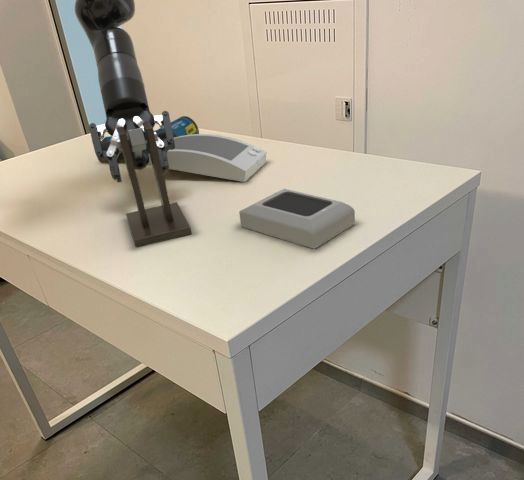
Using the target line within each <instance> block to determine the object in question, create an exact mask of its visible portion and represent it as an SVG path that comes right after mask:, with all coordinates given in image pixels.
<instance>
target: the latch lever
mask: <svg viewBox="0 0 524 480" xmlns="http://www.w3.org/2000/svg"><path fill="white" fill-rule="evenodd" d="M128 138H129V141H130V145H131V150H130V152H131V156H132V160H133V164H134V168H135V171H136V170H137V171H141V170H144V169H146V168H147V167H148V166H149V165H148V164H149V155H148V153H147V152H146V151H145V149H146V140H145V136H144V133H143V129H142V128H138V129H133V130H128Z"/></svg>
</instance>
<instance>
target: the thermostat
mask: <svg viewBox="0 0 524 480" xmlns="http://www.w3.org/2000/svg"><path fill="white" fill-rule="evenodd" d="M174 143H175V149H173V150H168V151H167V153H166V155H167V159H168V164H169V170H174V171H179V172H185V173H190V174H196V175H201V176H207V177H208V176H209V177H212V178H213V177H214V178H220V179H225V180H230V181H235V182H236V181H237V182H241V183H246V182H247V181H248V180H249V179H250V178H251V177H253V175H254V174H255V173H256V172H257V171H259V170H260V169H261V168H262V167H263V166H264V165H265V164H266V163H267V151H266V150H264V149H261V148H260V147H259V146H256V145H254V144H251V143H248V142H246V141H243V140H241V139H237V138H233V137H230V136H226V135H219V134H211V133H199V134H192V135H184V136H179V137H175V138H174ZM148 155H149V164H148V166H151V167H153V166H152V162H151V158H150V153H149V154H148Z"/></svg>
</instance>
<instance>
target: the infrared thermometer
mask: <svg viewBox="0 0 524 480" xmlns="http://www.w3.org/2000/svg"><path fill="white" fill-rule="evenodd" d="M170 122H171V127H172V132H173V136H174V138H175V137H179V136H184V135H192V134H200V129H199V127H198V124H197V123H196V121H194V119H192V118H191V117H190V116H187V115H182V116H180V117H178V118H177V119H174V120H173V121H170ZM154 131H156V133H157V136H158V137H159V138H160V139H161V140H162V141H164V140H166V139H167V138H166V133H165V128H164V129H162V128H160V127H159V128H158V129H156V130H154ZM111 138H112V136H111V135H110V136H104V138H103V139H102V140H101V143H102V147H103V151H107V150H108V148H109V146H110V141H111ZM129 148H130V150H131V146H129ZM145 151H146V152H147V153H148V154H149V149H148V145H147V142H146V149H145ZM117 160H124V156H123V152H121V153H120V154H119V156H118V158H117Z"/></svg>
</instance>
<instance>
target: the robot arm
mask: <svg viewBox="0 0 524 480" xmlns="http://www.w3.org/2000/svg"><path fill="white" fill-rule="evenodd" d="M135 3H136V2H135V0H75V3H74V14H75V17H76V20H77V21H78V23H79V25H80V26H81V28H82V29H83V31H84V34H85V36H86V37H87V39H88V41H89V43H90V46H91V48H92V50H93V54H94V58H95V64H96V68H97V79H98V84H99V85H98V86H99V89H100V94H101V100H102V104H103V109H104V112H105V118H106V119H105V123H104V124H99V125H96V123H94V122H91V123H89V124H88V129H89V134H90V137H91V141H92V146H93V149H94V154H95V156H96V158H97V160H98V162H99V163H104V162H106V163H108V166H109V167H108V168H109V170H110V174H111V177H112V180H114V181H115V180H116V182H117V183H122V182H123V180H122V176H121V171H120V165H119V161H118V159H117V158H118V156H119V154H120V153H121V152H122V148H121V149H119V148H118V145H117V141H116V139H119V137H118V133H117V129H116V128H117V127H123V128H124V131H125V133H126V136H127V140H128V144H129V146H131V145H130V141H129V138H128V130H133V129H138V128H142V129H143V133H144V136H145V132H144V128H143V122H148V121H149V123H150V124H151V126H152V127H153V128H154V127H155V125H156V124H157V125H158V126H159V129H160V128H162V129H164V128H165V133H166V138H167V139H166V140H164V141H162V140H161V139H160V138H159V137H158V136H157V137H158V141H156V144H157V148H158V153H159V157H160V162H161V166H162V171H163V175H166V174H167V171H169V170H170V169H169V164H168V159H167V155H166V153H167V151H168V150H173V149H175V143H174V136H173V132H172V127H171V122H172V121H171V117H170V112H169V111H167V110H163V111H162V112H161V114H156V115H153V114H152V112H151V111H150V106H149V101H148V97H147V93H146V87H145V83H144V79H143V75H142V72H141V70H140V68H139V65H138V60H137V55H136V50H135V47H134V42H133V40H132V37H131V35H130V34H129V32H127V30H125V29H123V28H121V26H122V25H124V24H126V23H127V22H129V21H131V20H132V19H133V17H134V16H135V13H136V4H135ZM106 133H107V134H108V135H110V136H112V138H111V141H110V146H109V148H108V150H107V151H103V147H102V143H101V141H102V140H103V139H104V138H105V134H106ZM145 140H146V136H145ZM146 142H147V141H146Z"/></svg>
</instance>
